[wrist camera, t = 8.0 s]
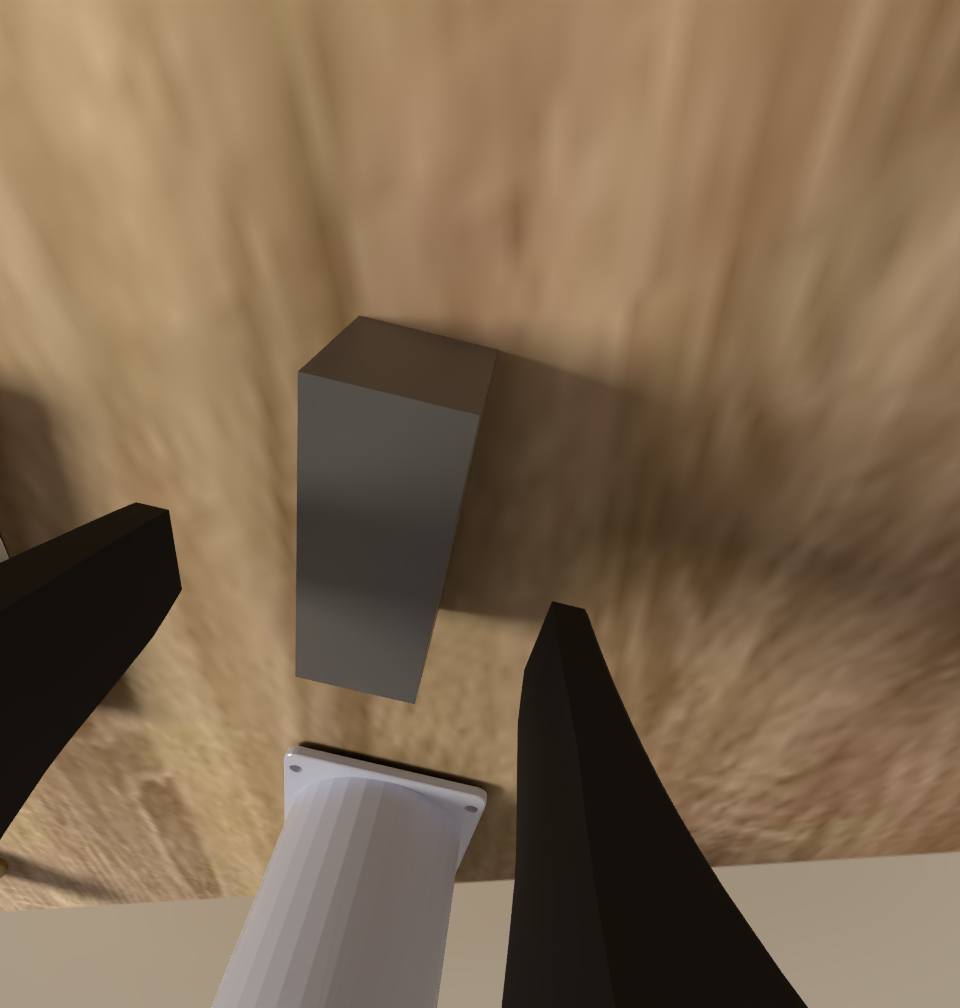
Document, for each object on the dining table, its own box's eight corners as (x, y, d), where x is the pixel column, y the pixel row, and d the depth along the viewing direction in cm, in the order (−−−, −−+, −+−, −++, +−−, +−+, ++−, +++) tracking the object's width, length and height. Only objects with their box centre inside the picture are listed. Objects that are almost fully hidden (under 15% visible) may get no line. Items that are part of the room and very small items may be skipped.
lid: (595, 702, 19) (603, 822, 15) (169, 602, 18) (85, 704, 15) (854, 233, 10) (997, 280, 7) (62, 33, 10) (-186, -17, 7)
